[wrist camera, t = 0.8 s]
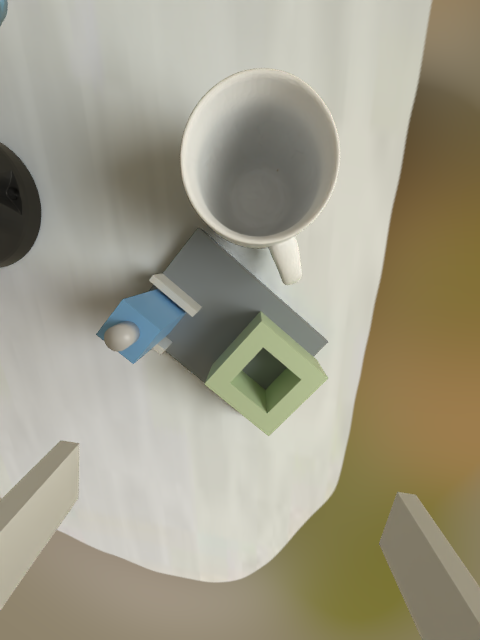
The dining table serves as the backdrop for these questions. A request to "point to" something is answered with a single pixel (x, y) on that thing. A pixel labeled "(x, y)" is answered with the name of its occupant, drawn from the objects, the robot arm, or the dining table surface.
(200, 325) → the panel
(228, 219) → the mug
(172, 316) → the plug
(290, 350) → the port
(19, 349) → the dining table surface
